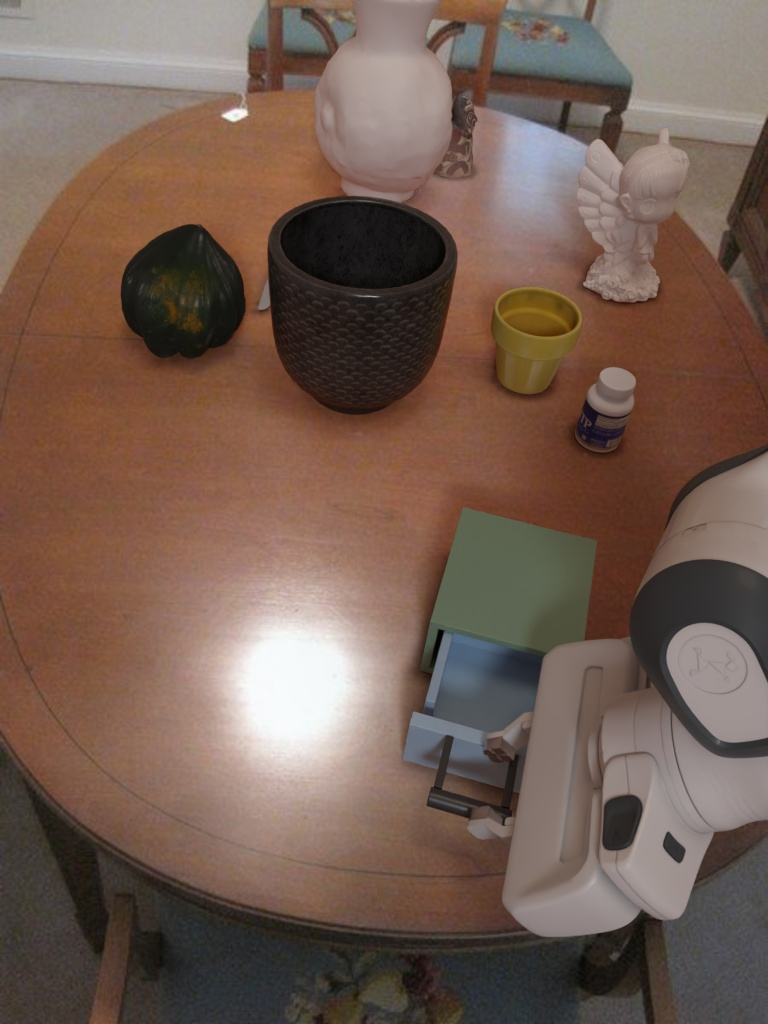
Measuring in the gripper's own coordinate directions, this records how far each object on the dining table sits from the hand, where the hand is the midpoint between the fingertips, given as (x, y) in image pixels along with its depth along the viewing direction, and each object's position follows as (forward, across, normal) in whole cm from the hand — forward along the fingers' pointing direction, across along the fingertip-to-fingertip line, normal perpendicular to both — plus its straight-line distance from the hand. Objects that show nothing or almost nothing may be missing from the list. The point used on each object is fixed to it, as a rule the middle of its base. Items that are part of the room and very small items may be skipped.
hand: (481, 785), depth 62 cm
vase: (+29, -95, -19) cm, 101 cm away
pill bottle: (+1, -49, +9) cm, 50 cm away
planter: (+22, -48, -12) cm, 54 cm away
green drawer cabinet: (+5, -19, +4) cm, 21 cm away
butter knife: (+34, -70, -24) cm, 81 cm away
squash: (+37, -50, -28) cm, 68 cm away
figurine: (+22, -108, -13) cm, 111 cm away
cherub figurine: (+2, -84, +8) cm, 85 cm away
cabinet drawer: (+5, -7, +4) cm, 9 cm away
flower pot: (+8, -57, +1) cm, 58 cm away
